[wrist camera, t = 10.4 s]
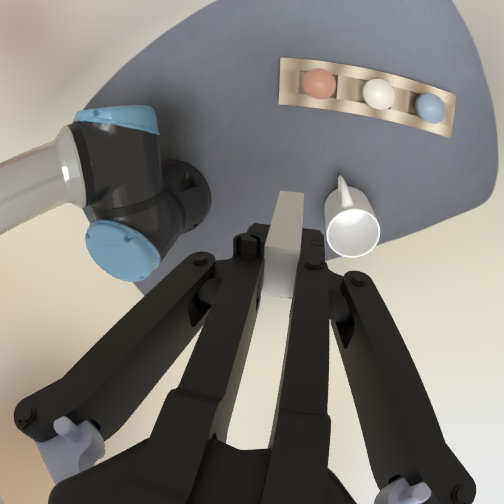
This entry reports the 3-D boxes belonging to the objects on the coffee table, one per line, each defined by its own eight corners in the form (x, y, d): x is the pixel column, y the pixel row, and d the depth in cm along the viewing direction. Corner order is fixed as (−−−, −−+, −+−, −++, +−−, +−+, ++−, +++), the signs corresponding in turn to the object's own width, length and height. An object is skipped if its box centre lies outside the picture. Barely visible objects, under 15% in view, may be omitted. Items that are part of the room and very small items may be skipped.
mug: (361, 163, 45) (373, 182, 36) (371, 222, 50) (382, 252, 42) (314, 172, 48) (316, 194, 39) (329, 230, 53) (331, 261, 44)
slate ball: (408, 116, 36) (418, 119, 33) (411, 89, 34) (421, 90, 30) (432, 123, 36) (443, 127, 32) (436, 97, 33) (447, 99, 29)
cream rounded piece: (357, 104, 37) (362, 106, 34) (360, 77, 35) (365, 75, 31) (385, 110, 37) (393, 112, 33) (388, 83, 34) (396, 83, 30)
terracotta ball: (302, 96, 39) (301, 97, 35) (303, 68, 36) (303, 66, 32) (332, 100, 38) (334, 101, 34) (334, 72, 35) (336, 70, 32)
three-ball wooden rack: (280, 103, 42) (278, 104, 39) (282, 59, 37) (280, 57, 35) (443, 134, 38) (450, 138, 35) (448, 94, 33) (456, 95, 31)
